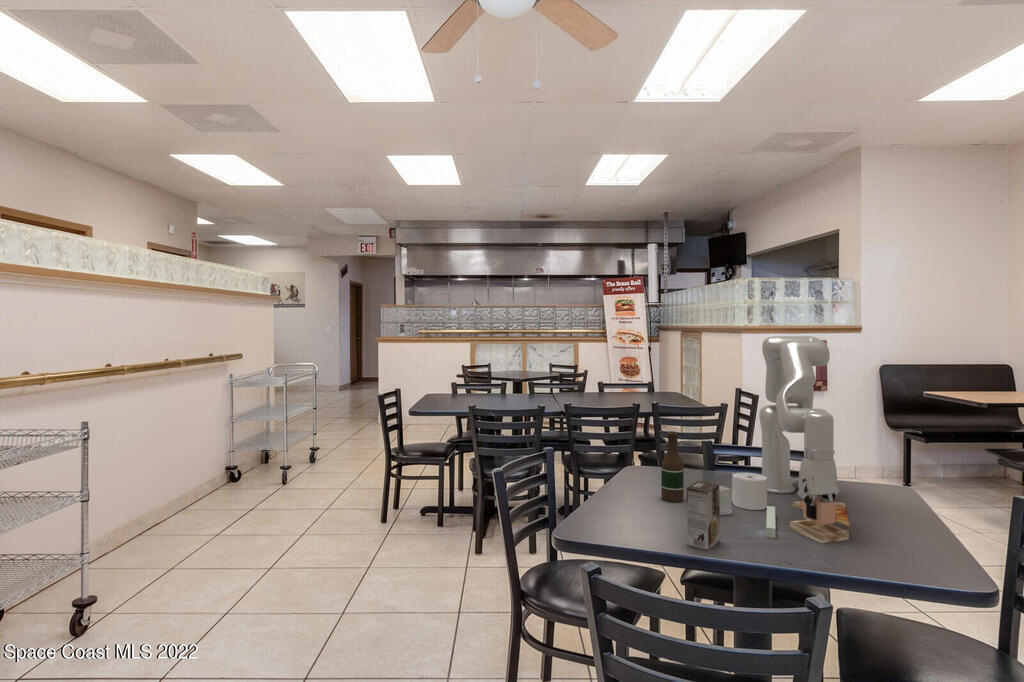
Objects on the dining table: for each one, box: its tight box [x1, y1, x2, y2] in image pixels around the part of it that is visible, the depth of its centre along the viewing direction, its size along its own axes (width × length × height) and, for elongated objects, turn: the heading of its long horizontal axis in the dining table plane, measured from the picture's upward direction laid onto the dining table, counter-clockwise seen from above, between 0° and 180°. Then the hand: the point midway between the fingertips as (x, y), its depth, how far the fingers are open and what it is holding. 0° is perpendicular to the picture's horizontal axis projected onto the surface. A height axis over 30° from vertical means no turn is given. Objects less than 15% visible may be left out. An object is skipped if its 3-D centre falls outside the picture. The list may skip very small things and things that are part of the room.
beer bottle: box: [661, 430, 685, 503], centre depth 196 cm, size 8×8×24 cm
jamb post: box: [719, 485, 733, 516], centre depth 181 cm, size 5×5×8 cm
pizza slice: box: [792, 500, 851, 528], centre depth 181 cm, size 16×22×2 cm
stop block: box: [802, 495, 836, 525], centre depth 161 cm, size 4×7×7 cm, turn 16°
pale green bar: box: [765, 505, 777, 539], centre depth 169 cm, size 22×2×3 cm, turn 155°
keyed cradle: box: [789, 518, 850, 544], centre depth 161 cm, size 9×12×2 cm
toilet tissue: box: [731, 470, 768, 511], centre depth 189 cm, size 11×12×10 cm
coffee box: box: [686, 480, 721, 551], centre depth 155 cm, size 9×6×16 cm
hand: (818, 516), depth 161 cm, fingers closed on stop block, 4 cm apart
